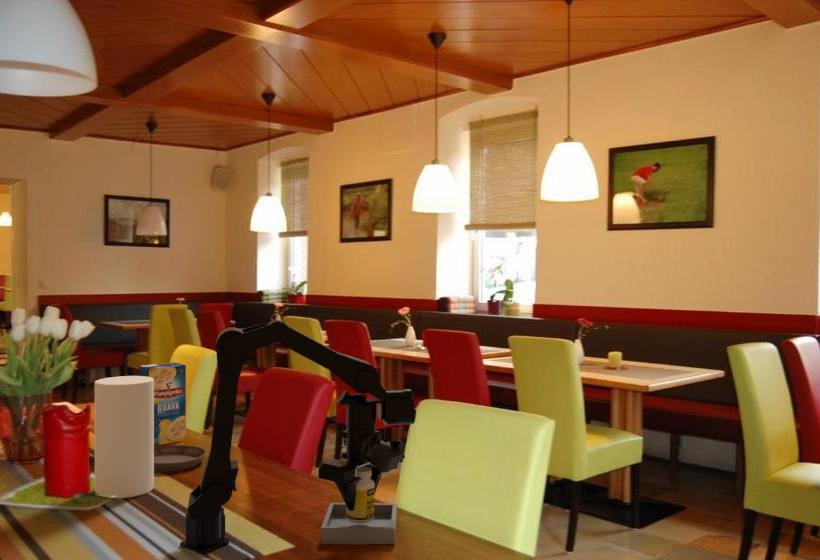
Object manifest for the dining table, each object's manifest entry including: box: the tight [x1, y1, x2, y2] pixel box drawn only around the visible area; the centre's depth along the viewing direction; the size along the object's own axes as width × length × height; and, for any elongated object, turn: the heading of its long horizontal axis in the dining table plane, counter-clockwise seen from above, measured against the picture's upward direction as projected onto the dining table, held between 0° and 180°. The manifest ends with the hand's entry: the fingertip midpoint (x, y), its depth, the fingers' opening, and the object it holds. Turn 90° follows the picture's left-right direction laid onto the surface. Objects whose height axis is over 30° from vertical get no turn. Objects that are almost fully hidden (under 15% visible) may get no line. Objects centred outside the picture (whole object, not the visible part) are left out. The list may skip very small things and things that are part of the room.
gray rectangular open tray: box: [320, 502, 398, 545], centre depth 137 cm, size 14×14×3 cm
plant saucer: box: [154, 444, 207, 473], centre depth 181 cm, size 18×18×3 cm
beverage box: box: [138, 362, 187, 447], centre depth 203 cm, size 7×11×22 cm, turn 133°
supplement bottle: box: [346, 467, 376, 523], centre depth 137 cm, size 5×5×10 cm
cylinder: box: [94, 375, 155, 499], centre depth 160 cm, size 12×12×25 cm
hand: (360, 506), depth 137 cm, fingers closed on supplement bottle, 5 cm apart
